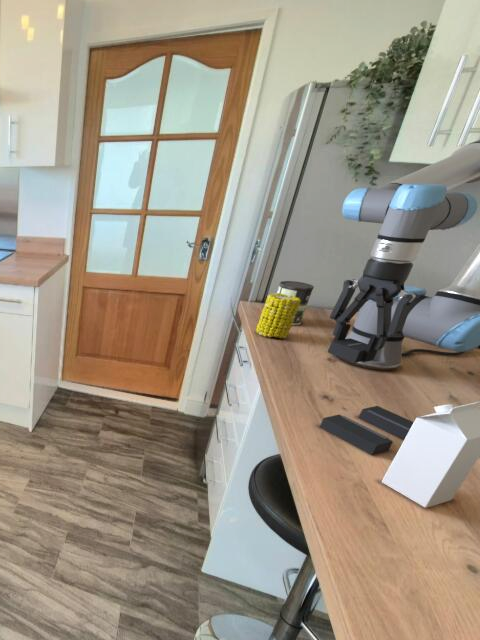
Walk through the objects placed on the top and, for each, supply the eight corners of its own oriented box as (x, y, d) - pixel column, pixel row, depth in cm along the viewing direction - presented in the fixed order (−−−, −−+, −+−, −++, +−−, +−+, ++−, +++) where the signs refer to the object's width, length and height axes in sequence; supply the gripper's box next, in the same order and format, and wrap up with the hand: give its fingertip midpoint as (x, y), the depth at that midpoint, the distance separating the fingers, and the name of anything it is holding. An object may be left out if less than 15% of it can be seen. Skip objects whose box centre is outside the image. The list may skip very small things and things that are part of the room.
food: (249, 338, 151) (265, 333, 156) (287, 341, 141) (302, 337, 146) (253, 294, 148) (268, 291, 153) (292, 295, 138) (307, 292, 143)
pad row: (372, 414, 104) (377, 404, 103) (428, 440, 94) (433, 430, 93) (319, 426, 99) (323, 417, 98) (371, 455, 90) (377, 444, 89)
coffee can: (300, 319, 164) (313, 283, 158) (301, 327, 156) (315, 289, 150) (268, 314, 169) (279, 279, 163) (268, 322, 161) (279, 285, 155)
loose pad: (345, 349, 108) (350, 337, 107) (373, 359, 103) (379, 347, 101) (327, 352, 106) (331, 340, 105) (354, 362, 101) (359, 351, 99)
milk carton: (451, 500, 78) (509, 412, 70) (424, 508, 76) (480, 419, 68) (406, 475, 84) (454, 391, 76) (380, 482, 82) (426, 397, 74)
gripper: (333, 252, 101) (300, 341, 112) (433, 271, 85) (384, 374, 95) (356, 250, 103) (321, 338, 114) (458, 268, 87) (407, 369, 97)
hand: (350, 354), depth 104 cm, fingers closed on loose pad, 6 cm apart
